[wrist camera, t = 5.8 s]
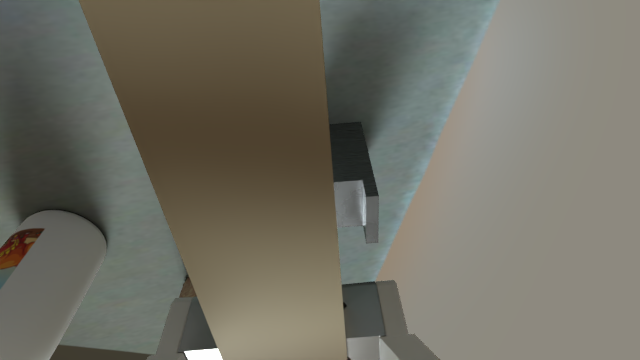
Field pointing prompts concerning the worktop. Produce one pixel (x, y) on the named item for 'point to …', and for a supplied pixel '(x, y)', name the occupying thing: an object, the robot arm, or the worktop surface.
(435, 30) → the worktop surface
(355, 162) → the post
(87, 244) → the milk bottle
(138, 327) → the worktop surface
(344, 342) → the rail
